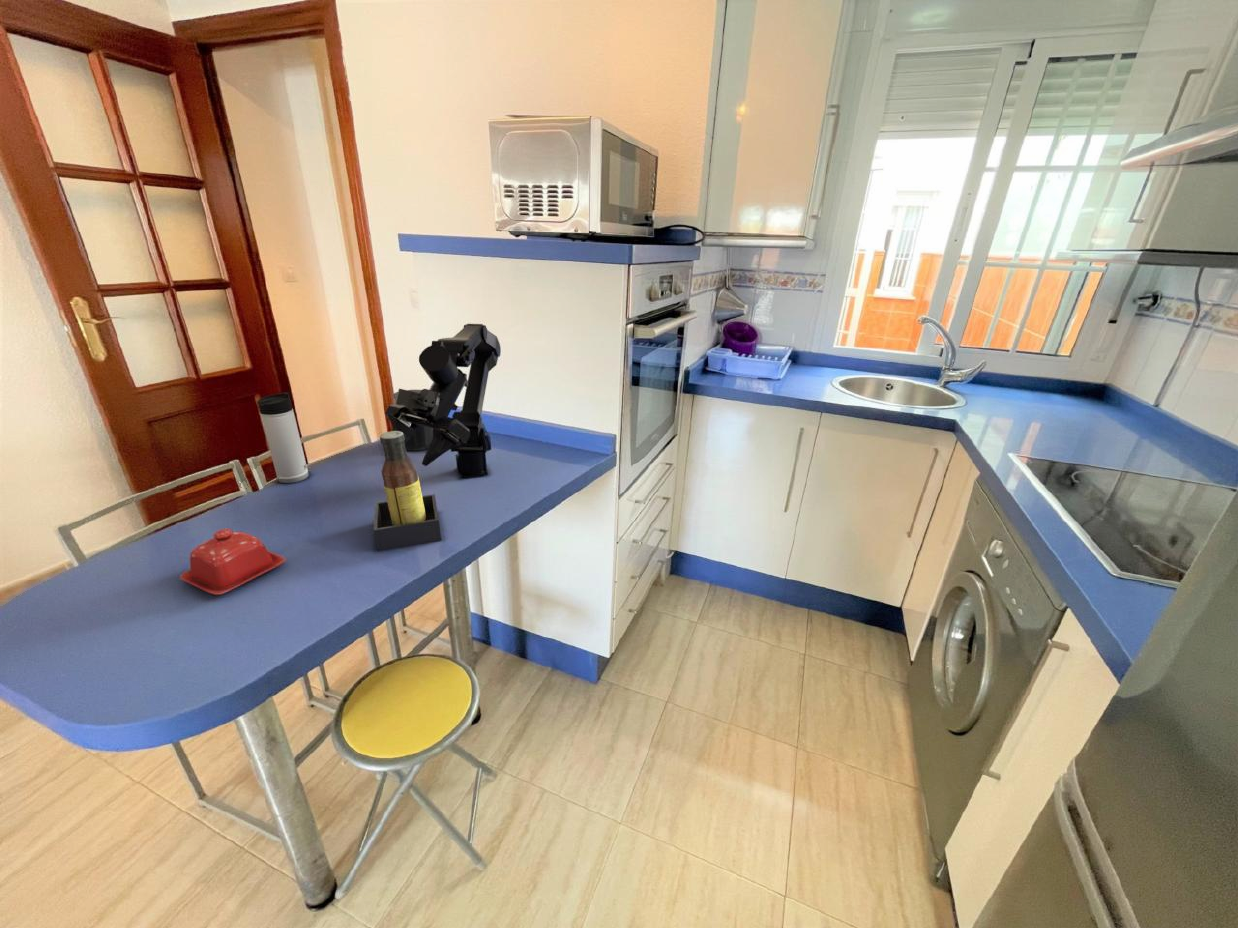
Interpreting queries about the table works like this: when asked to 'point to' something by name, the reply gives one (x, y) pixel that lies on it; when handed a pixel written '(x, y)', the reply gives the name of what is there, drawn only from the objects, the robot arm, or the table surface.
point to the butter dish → (229, 562)
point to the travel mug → (283, 437)
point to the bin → (406, 527)
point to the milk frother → (418, 433)
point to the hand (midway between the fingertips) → (407, 460)
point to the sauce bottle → (401, 481)
